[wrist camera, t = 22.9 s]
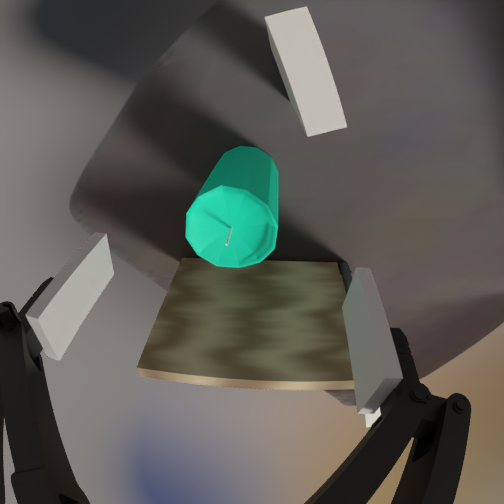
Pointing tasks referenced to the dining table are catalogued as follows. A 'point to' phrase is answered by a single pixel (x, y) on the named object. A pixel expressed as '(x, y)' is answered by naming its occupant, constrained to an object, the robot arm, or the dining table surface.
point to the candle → (236, 210)
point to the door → (252, 327)
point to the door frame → (308, 88)
